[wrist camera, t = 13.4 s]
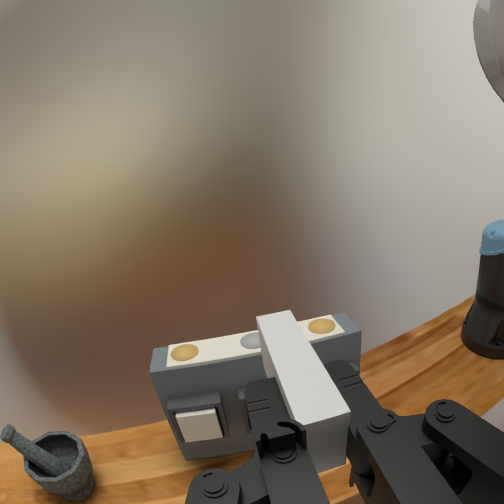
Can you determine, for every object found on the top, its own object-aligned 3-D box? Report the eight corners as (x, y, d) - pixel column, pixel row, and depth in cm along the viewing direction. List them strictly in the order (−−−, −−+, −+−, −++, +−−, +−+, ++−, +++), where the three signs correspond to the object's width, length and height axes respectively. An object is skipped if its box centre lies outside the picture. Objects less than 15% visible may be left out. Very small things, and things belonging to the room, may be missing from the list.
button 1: (220, 423, 35) (213, 398, 34) (222, 437, 33) (215, 412, 32) (185, 428, 35) (176, 403, 33) (185, 442, 32) (175, 417, 31)
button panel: (342, 402, 44) (344, 309, 39) (360, 432, 37) (369, 335, 33) (184, 435, 41) (152, 345, 37) (185, 470, 35) (146, 379, 30)
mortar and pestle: (107, 459, 36) (72, 401, 32) (105, 509, 27) (59, 454, 24) (45, 462, 33) (6, 406, 30) (36, 507, 25) (-14, 452, 21)
